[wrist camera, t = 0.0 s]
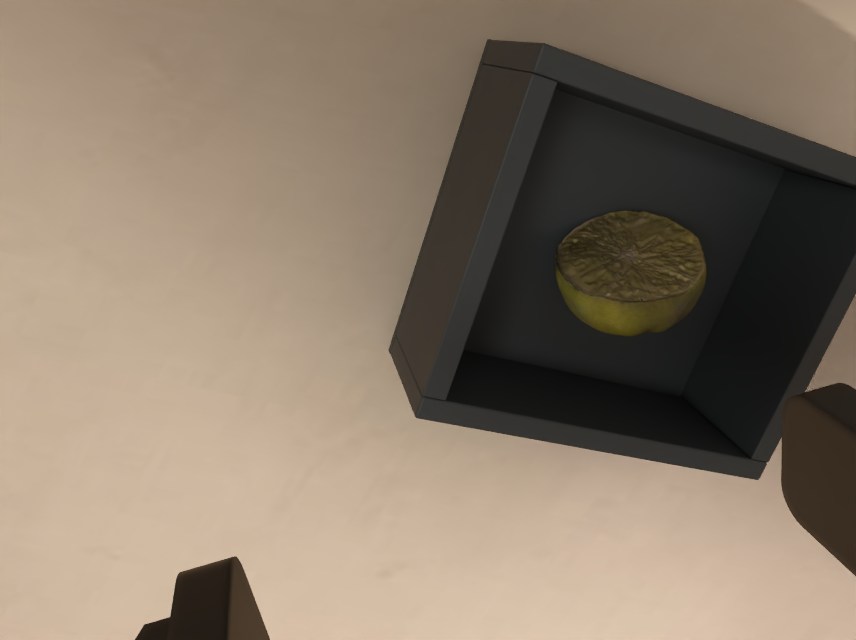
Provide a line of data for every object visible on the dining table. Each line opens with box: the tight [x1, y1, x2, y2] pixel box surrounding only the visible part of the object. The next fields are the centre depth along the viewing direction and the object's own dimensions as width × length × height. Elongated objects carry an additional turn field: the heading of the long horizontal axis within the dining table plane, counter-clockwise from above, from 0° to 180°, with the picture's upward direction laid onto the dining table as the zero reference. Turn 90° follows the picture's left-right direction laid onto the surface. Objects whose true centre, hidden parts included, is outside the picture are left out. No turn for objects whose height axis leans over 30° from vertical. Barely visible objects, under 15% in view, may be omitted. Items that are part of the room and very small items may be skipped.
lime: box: [555, 211, 707, 336], centre depth 25 cm, size 4×5×5 cm
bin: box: [389, 39, 856, 480], centre depth 26 cm, size 12×14×5 cm
